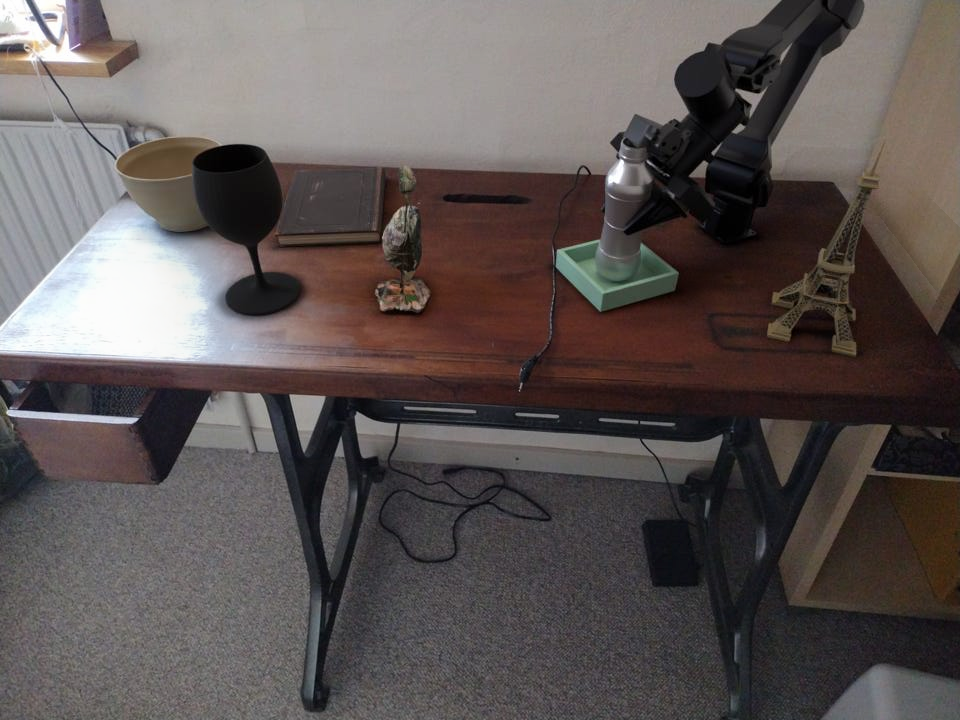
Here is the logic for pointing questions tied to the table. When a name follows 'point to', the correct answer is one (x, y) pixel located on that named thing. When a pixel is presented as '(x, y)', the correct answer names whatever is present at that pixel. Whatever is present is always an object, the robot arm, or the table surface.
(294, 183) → the hardcover book
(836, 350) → the eiffel tower
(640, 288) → the bin
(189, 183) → the planter bowl
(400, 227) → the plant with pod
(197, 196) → the wine glass
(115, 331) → the table surface
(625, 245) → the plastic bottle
